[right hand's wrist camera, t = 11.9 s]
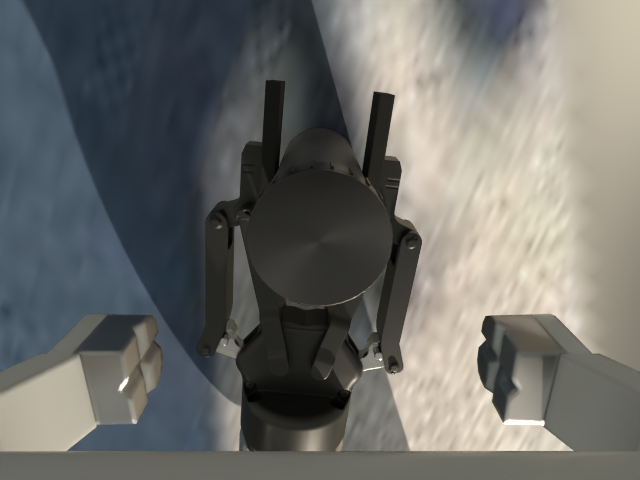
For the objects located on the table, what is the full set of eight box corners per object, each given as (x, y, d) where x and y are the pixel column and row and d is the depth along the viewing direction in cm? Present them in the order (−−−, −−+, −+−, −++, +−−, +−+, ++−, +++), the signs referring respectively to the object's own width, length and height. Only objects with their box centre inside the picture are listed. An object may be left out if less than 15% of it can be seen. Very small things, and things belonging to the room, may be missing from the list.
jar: (329, 210, 31) (336, 316, 18) (270, 174, 30) (231, 255, 17) (369, 153, 30) (410, 220, 16) (308, 112, 29) (299, 147, 15)
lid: (337, 311, 19) (339, 331, 18) (225, 246, 18) (216, 262, 16) (416, 209, 17) (425, 222, 16) (297, 130, 16) (295, 136, 15)
